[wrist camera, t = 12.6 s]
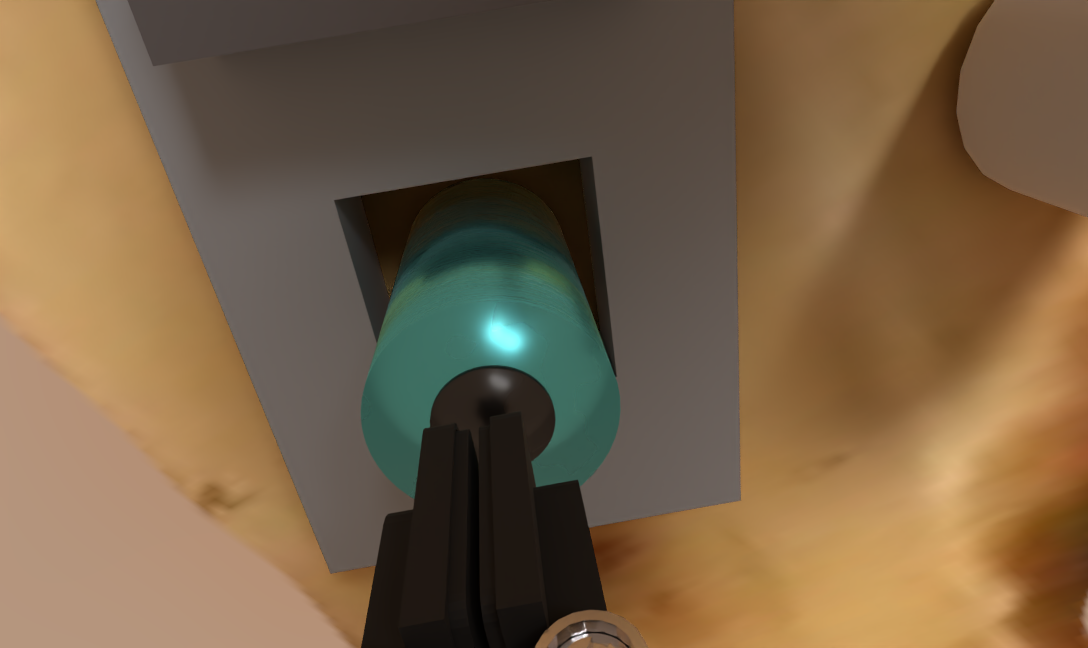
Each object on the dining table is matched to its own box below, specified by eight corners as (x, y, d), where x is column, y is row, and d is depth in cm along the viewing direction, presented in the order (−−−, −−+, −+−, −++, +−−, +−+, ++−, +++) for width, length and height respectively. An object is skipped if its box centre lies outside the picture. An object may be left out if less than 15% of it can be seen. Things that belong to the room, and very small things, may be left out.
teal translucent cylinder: (388, 193, 20) (326, 331, 11) (554, 165, 20) (608, 282, 11) (426, 339, 22) (396, 542, 14) (574, 313, 22) (632, 499, 14)
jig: (72, -226, 15) (-160, -354, 9) (683, -322, 15) (798, -501, 10) (346, 511, 25) (310, 652, 19) (712, 446, 25) (776, 569, 20)
